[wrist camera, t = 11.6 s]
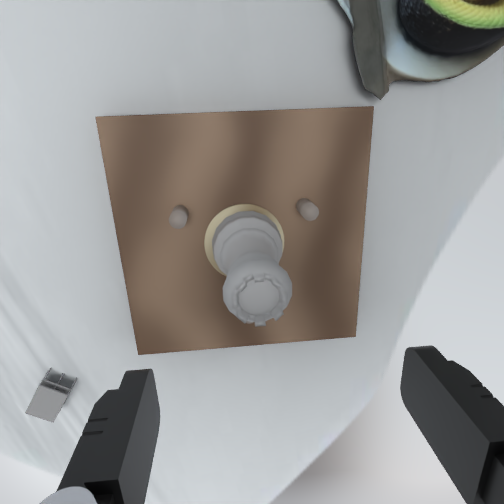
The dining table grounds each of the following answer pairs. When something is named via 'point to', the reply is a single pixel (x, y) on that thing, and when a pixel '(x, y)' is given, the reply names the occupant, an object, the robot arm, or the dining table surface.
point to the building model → (48, 399)
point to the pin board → (228, 203)
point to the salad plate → (422, 38)
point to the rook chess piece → (252, 267)
